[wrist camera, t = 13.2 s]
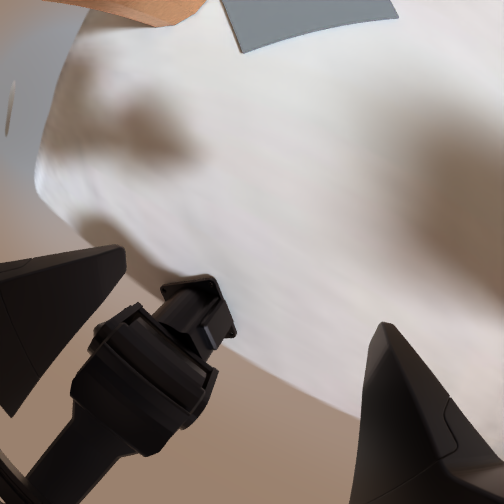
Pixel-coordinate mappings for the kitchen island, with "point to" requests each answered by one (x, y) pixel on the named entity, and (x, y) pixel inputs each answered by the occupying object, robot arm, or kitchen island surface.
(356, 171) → the kitchen island surface
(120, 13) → the brown tapered cup
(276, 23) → the slate mat
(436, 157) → the kitchen island surface
